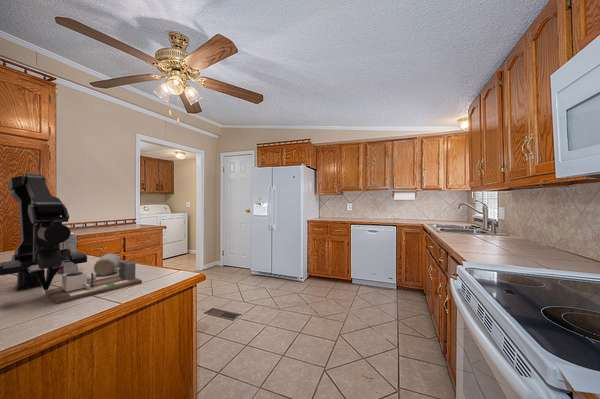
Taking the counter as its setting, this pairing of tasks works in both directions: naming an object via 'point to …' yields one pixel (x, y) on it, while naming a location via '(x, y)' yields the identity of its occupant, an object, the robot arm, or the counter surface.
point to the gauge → (75, 281)
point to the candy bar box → (73, 246)
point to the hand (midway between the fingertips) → (45, 289)
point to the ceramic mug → (107, 264)
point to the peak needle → (92, 280)
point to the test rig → (98, 285)
